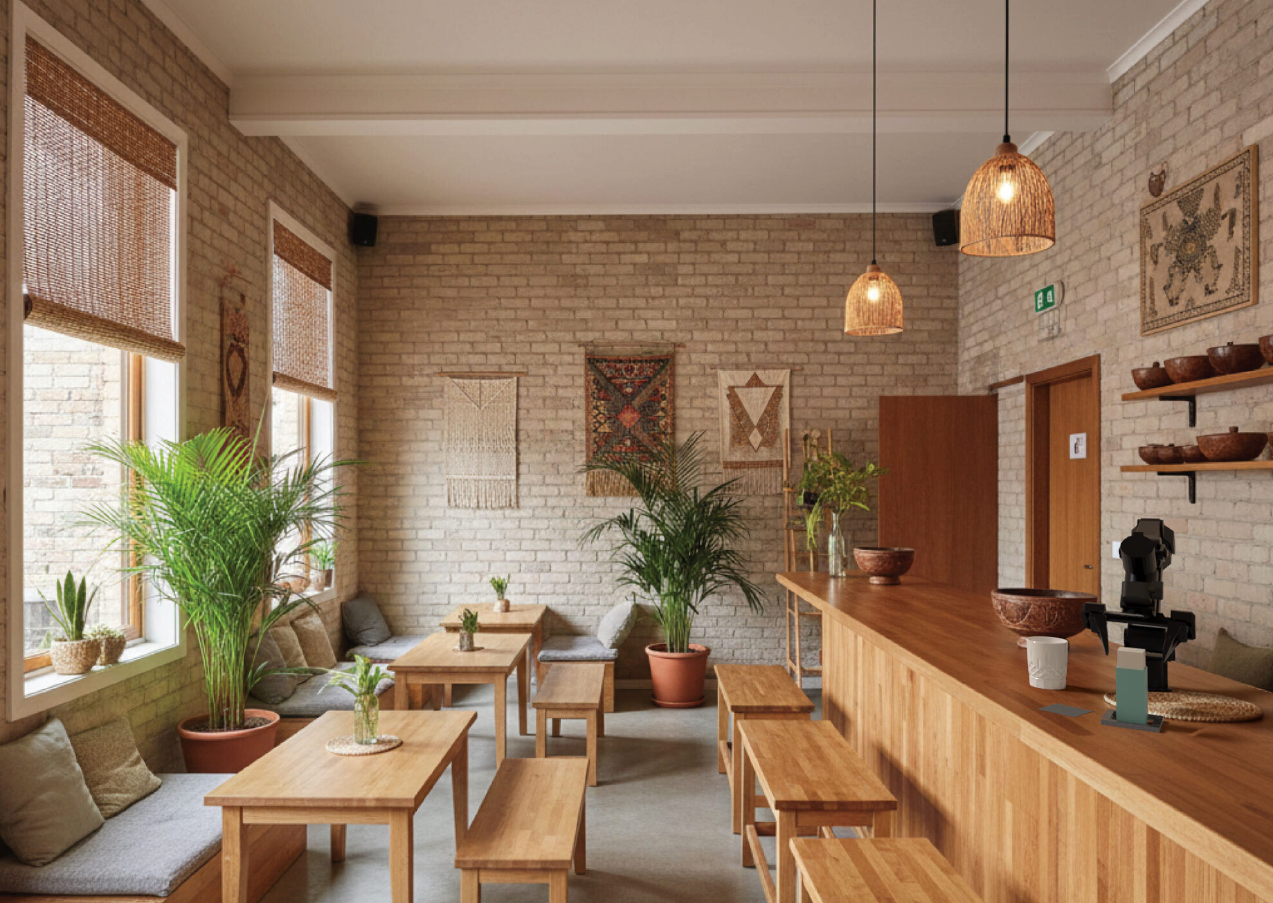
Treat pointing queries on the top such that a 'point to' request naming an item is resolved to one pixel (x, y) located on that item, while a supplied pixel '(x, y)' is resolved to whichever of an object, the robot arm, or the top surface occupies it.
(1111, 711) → the socket
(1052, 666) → the white cup
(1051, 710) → the pad
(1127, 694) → the peg
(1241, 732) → the top surface
